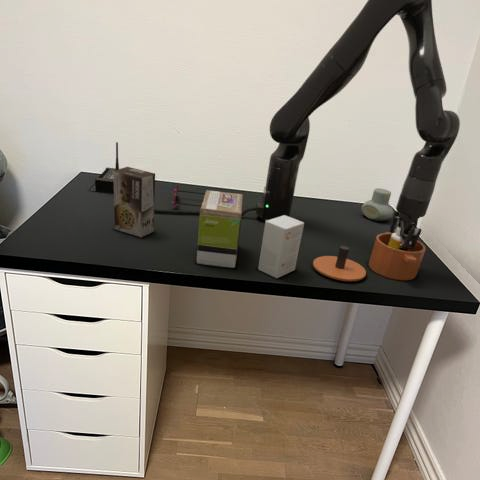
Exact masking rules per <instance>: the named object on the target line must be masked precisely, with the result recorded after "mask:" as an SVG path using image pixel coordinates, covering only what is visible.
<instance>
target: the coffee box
mask: <svg viewBox="0 0 480 480" xmlns="http://www.w3.org/2000/svg"><path fill="white" fill-rule="evenodd" d="M113 177H114V194H113V206H114V207H113V208H114V230H115V231H118V232H123V233H126V234H129V235H132V236H135V237H139V238H143V237H145V236H147V235H149V234H152V233H154V231H155V212H154V209H155V196H156V195H155V193H156V173H154V172H150V171H147V170H142V169H139V168H134V167H131V166H124V167H121V168H119V170H116V171H113Z"/></svg>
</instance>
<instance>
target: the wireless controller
mask: <svg viewBox="0 0 480 480" xmlns="http://www.w3.org/2000/svg"><path fill="white" fill-rule="evenodd" d="M114 167H115V168H114ZM114 167H105V169H104V170H103V171H102V172H101V173H100V174H99V176H97V177H96V178H95V179H94V186H92V188H91V189H90V191H91V192H96V193H97V192H98V193H105V194H113V195H114V177H113V171H116V170H119V169H120V164H119V142H118V141H116V142H115V166H114Z"/></svg>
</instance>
